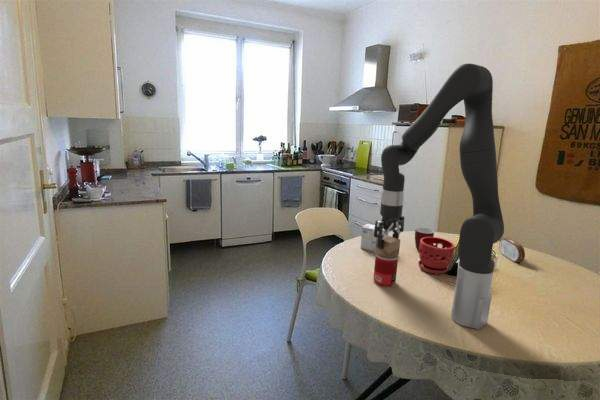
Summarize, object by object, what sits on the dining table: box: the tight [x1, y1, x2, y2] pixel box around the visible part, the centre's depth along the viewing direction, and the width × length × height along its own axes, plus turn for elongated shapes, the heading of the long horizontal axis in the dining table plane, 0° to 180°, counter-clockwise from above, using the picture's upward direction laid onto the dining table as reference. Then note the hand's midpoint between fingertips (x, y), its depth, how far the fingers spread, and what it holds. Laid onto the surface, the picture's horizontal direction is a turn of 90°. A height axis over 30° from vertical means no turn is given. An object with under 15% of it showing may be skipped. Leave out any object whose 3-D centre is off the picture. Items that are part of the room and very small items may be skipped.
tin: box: [498, 237, 526, 263], centre depth 158 cm, size 15×3×8 cm, turn 2°
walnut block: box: [374, 234, 401, 259], centre depth 128 cm, size 6×6×6 cm
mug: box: [414, 227, 435, 253], centre depth 164 cm, size 10×8×10 cm
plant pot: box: [417, 236, 456, 275], centre depth 143 cm, size 13×13×12 cm
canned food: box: [373, 254, 399, 288], centre depth 130 cm, size 8×8×11 cm
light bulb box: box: [360, 223, 389, 253], centre depth 163 cm, size 11×7×11 cm, turn 58°
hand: (387, 246), depth 128 cm, fingers open, 8 cm apart
